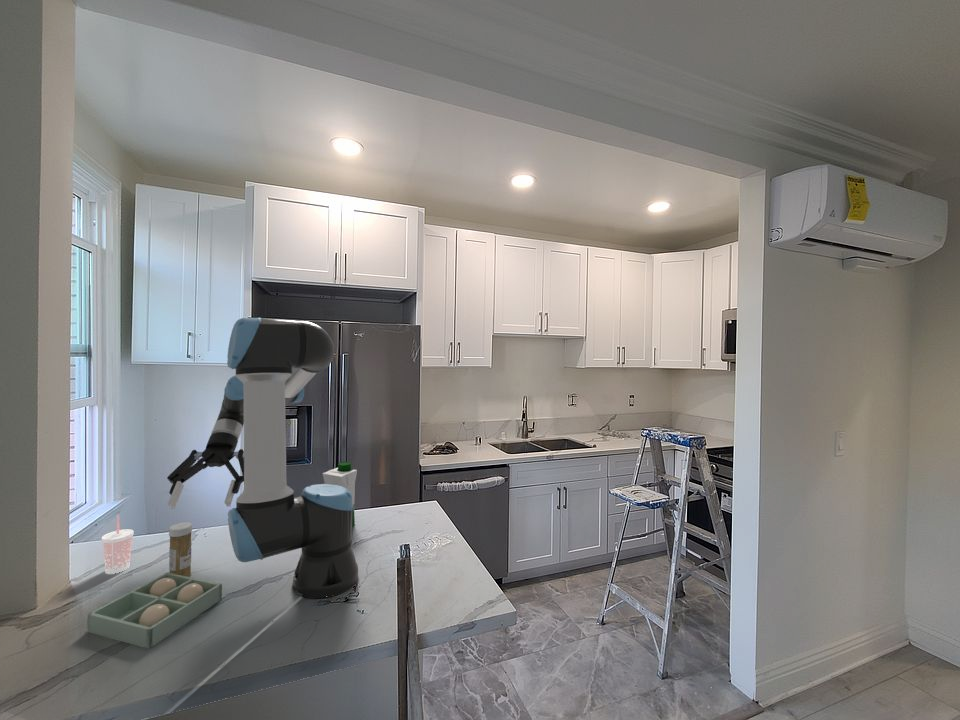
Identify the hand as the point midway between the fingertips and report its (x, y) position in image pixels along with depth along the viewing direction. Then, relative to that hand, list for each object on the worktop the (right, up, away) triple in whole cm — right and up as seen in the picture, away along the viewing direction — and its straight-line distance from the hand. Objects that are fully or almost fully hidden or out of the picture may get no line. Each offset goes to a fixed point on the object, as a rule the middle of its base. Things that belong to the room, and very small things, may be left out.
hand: (199, 505), depth 109 cm
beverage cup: (-17, -14, -5) cm, 23 cm away
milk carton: (+29, -15, +23) cm, 40 cm away
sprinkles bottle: (+2, -15, -9) cm, 18 cm away
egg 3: (+12, -15, -20) cm, 28 cm away
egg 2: (+10, -15, -28) cm, 33 cm away
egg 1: (+5, -15, -18) cm, 24 cm away
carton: (+7, -15, -23) cm, 29 cm away
